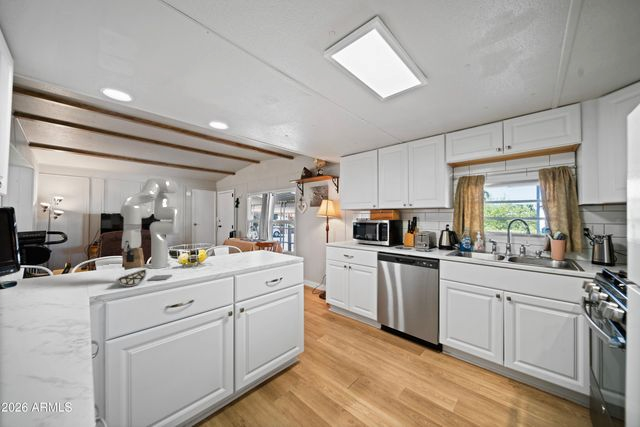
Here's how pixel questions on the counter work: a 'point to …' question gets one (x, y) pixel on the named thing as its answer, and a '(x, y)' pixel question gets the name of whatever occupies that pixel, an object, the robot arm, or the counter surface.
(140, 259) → the tan cardboard box
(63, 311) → the counter surface
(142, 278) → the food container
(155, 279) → the mat
